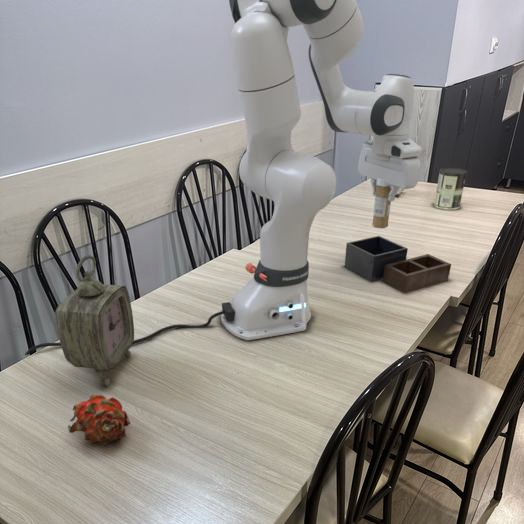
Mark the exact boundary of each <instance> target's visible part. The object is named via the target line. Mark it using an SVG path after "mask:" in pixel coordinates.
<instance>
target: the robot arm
mask: <svg viewBox="0 0 524 524" xmlns="http://www.w3.org/2000/svg"><path fill="white" fill-rule="evenodd" d="M228 2H229V9H230V11H231V16H232V19H233V21H234V25H233V27H232V29H231V33H230V45H231V56H232V58H231V59H232V64H233V72H234V76H235V83H236V86H237V87H236V88H237V90H238V94H239V99H240V104H241V109H242V112H243V117H244V121H245V122H244V123H245V127H246V150H245V153H244V154H243V155H242V157H241V159H240V163H239V169H238V173H239V178H240V180H241V183H242V184H243V185H244V186H245V187H246V188H247V189H249V190H250V191H251V192H253V193H254V194H255V195H257V196H258V197H261V198H265V199H266V200H270V201H271V202H272V201H273V206H274V207H273V212H272V217H271V219H270V220H268V221H267V222H266V223H264V225H263V226H261V229H260V232H259V237H260V238H259V245H260V246H259V247H260V249H259V251H260V253H259V254H260V255H259V256H260V257H259V260H258V263H257V265H256V266H255V265H253V264H252V263H251V262H249V263H247V264H246V265H245V271H246V272H248V273H249V274H253V277H252V278H250V280H249V281H248V282H247V283H245V284H244V285H243V286H242V287H241V288H240V289H239V290H238V291H237V292H236V293H234V294H233V296H232V298H231V301H227V302H221V311H218V312H216V313H214V314H212V315H211V316H210V317H209V318H208V320H207V322H205V323H203V324H199V325H191V324H173V325H168V326H165V327H163V328H161V329H158V330H156V331H155V332H153V333H151V334H148V335H146V336H144V337H141V338H138V339H134V340H133V343H132V345H135V344H138V343H142V342H144V341H148V340H150V339H152V338H153V337H155V336H158V335H159V334H161V333H164V332H166V331H169V330H171V329H172V330H173V329H179V328H181V329H203V328H206V327H208V326H210V324H211V322H212V321H213V319H214V318H216V317H219V316H221V318H220V320H221V323H222V325H223V327H224V328H225V329H226V330H227V331H228V332H229V333H230V334H232V335H233V336H235V337H237V338H239V339H242V340H244V341H252V340H259V339H264V338H266V339H267V338H271V337H276V336H282V335H289V334H293V333H299V332H304V331H306V330H307V324H308V322H309V321H310V320H311V318H312V312H311V308H310V304H309V297H308V296H309V295H308V278H309V272H310V263H309V260H308V254H309V251H308V250H309V241H310V232H311V228H312V226H313V222H314V220H315V218H316V216H317V215H318V214H319V212H321V211H322V210H323V209H325V208H326V207H327V206H328V205H329V204H331V201H332V200H333V198H334V196H335V194H336V189H337V176H336V173H335V170H334V168H333V167H332V166H331V165H329V164H328V163H327V162H325V161H323V160H322V159H320V158H319V157H316V156H315V155H311V154H307V153H302V152H299V151H295V150H294V149H293V147H292V138H291V137H292V130H294V128H296V126H297V125H298V123H300V120H301V114H302V111H301V106H300V105H301V104H300V99H299V93H298V86H297V82H296V75H295V70H294V65H293V60H292V55H291V51H290V48H289V45H288V34H289V30H290V28H291V27H297V26H301V25H302V27H303V29H304V31H305V33H306V36H307V38H308V40H309V47H308V61H309V64H310V67H311V71H312V74H313V77H314V79H315V82H316V85H317V88H318V91H319V93H320V96H321V100H322V103H323V107H324V112H325V119H326V122H327V124H328V126H329V127H330V129H331V130H332V131H334V132H335V133H351V134H357V135H364V136H365V135H366V136H372V137H373V138H372V139H373V140H371V139H367V140H366V141H364V142H363V144H362V149H361V151H360V154H359V159H358V164H357V172H358V175H360V176H363V177H366V178H369V179H370V184H371V188H372V196H374V197H375V196H376V189H377V184H376V183H377V178H380V179H383V180H384V182H385V183H388V184H391V185H390V188H391V191H390V193H389V194H387V196H386V197H387V198H386V200H388V201H391V202H394V201H395V199H396V197H395V194H396V193H397V192H398V190H399V189H400V188H403V189H404V190H409V189H415V188H416V186H417V185H418V183H419V178H420V172H421V171H420V170H421V161H420V158H419V157H420V156H422V153H423V149H422V146H420V145H419V144H417V143H416V142H415V141H414V140H413V139H412V138H410V137H409V136H410V120H411V118H412V116H413V109H414V100H415V99H414V98H415V97H414V96H415V84H414V79H413V78H411V76H408V75H405V74H398V73H387V74H384V75H383V77H382V79H381V83H380V84H379V85H378V86H377V87H376V88H374V89H372V90H360V89H354V88H351V87H349V86H347V85H345V83H344V80H343V76H342V73H341V70H340V67H339V65H341V64H343V63H344V62H345V61H346V60H348V59H349V58H350V57H351V56H352V55H353V54H354V53H355V52H356V50H357V49H358V47H359V45H360V44H361V41H362V39H363V35H364V30H365V29H364V19H363V15H362V12H361V10H360V7H359V5H358V2H357V0H228ZM44 347H62V346H61V343H60V342H45V343H39V344H36V345H34V346H32V347H30V348H29V349H28V350H27V351H26V352H25V353H24V355H25V356H28V355H30V354H32V352H33V351H36V350H37V349H40V348H44Z"/></svg>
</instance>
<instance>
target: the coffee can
mask: <svg viewBox="0 0 524 524" xmlns="http://www.w3.org/2000/svg"><path fill="white" fill-rule="evenodd" d="M467 174H468V170H466V169H463V168H458V167H443V168H440V169H439V174H438V180H437V184H436V191H435V197H434V202H433V207H434V208H436V209H440V210H446V211H453V210H458V209H460V208H461V201H462V197H463V192H464V187H465V182H466V178H467Z"/></svg>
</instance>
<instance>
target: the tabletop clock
mask: <svg viewBox="0 0 524 524" xmlns="http://www.w3.org/2000/svg"><path fill="white" fill-rule="evenodd" d="M89 259H90V260H91V261H92V264H93V265H92V267H91V270H90V271H89V270H86V271H84V277H82V278H81V277H80V272H81V267H82V266H83V264H84V263H85V262H86V261H87V260H89ZM96 267H97V261H96V258H95V257H94V256H92V255H91V254H87V255H85V256H84V257H82V258H81V259H80V260H79V261H78V264H77V265H76V268H75V269H76V271H75V273H76V274H75V275H76V278H77V280H78V282H79V283H78V286H77V288H76V289H75V290H73V291H72V292H70V294H68V295H67V296H66V297H65V298H64V299H63V300H62V301H61V303H59V305H58V306H57V308H56V309H55V312H54V314H55V315H54V318H55V326H56V330H57V335H58V339H59V343H61V346H60V347H61V350H62V353H63V355H64V358H65V359H66V361H67V362H68V363H69V364H71V365H72V366H73V367H74V368H82V369H92V370H94V371H96V370H98V371H99V373H100V375H101V377H102V380H101V386H103V387H108V386H109V385H110V384H111V379H109V378H107V377H106V371H112V370H114V369H115V368H116V367H117V366H118V365H119V364H120V363H121V362H122V360H123V359H124V358H130V357H131V356H132V352H131V351H130V349H131V346H132V345H133V344H132V343H133V341H134V340H135V325H134V323H135V322H134V314H133V309H132V303H131V298H130V294H129V290H128V288H127V287H126V285H118V284H106V283H105V284H104V283H102V282H101V281H100V280H98V279H96V278H92V277H93V275H94V274H95V272H96Z"/></svg>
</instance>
